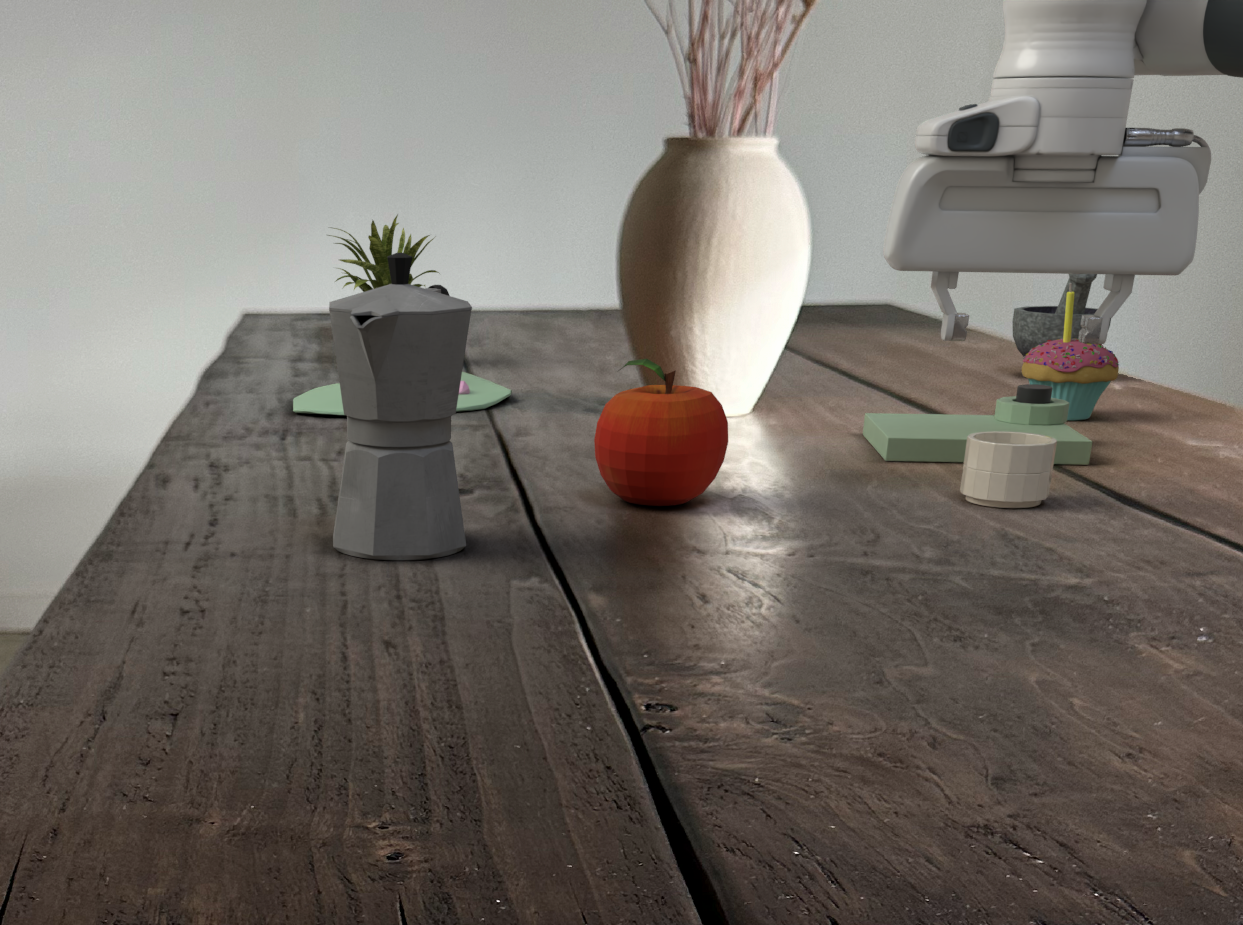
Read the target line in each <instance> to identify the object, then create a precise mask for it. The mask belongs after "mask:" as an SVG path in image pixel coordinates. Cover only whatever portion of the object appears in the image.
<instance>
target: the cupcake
mask: <svg viewBox="0 0 1243 925" xmlns="http://www.w3.org/2000/svg"><path fill="white" fill-rule="evenodd" d="M1073 305H1074V292H1072V283H1070V287H1069V292H1067V297H1066V310H1065V323H1064V335H1063V339H1057V340H1054V341H1051V340H1048V341H1047V342H1046V343H1043V344H1040V345H1038V346H1036V347H1034V348H1032V349H1031V350H1030V352H1029V353H1027V354H1026V356H1025V357H1023V358H1022V363H1023V364H1022V367H1021V375H1022V374H1023V375H1022V376H1023V377H1025V379H1027V380H1028V384H1036V385H1046V386H1051V387H1052V395H1051V398H1056V399H1061V400H1065V401H1067V402H1069V403H1070V404H1069V410H1068V417H1067V421H1084V420H1089V419H1090V418H1091V416H1092V413H1093V411H1094V409H1095V407H1096V405H1097V403H1098V401H1099V399H1100V398H1101V395H1103V393H1104V392H1105V390H1106V389H1107V388H1108V386H1109V385H1110V384H1111V382H1114V381H1116V380H1117V379H1118V375H1119V371H1120V367H1119V366H1120V364H1119V359H1118V357H1117V356H1116V354H1115V353H1114V352H1113V350H1110V349H1108V348H1107V347H1106V346H1104V344H1102V345H1100V344H1087V343H1082V342H1079V339H1076V338H1073V339H1071V331H1072V318H1073Z"/></svg>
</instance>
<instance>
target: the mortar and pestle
mask: <svg viewBox="0 0 1243 925" xmlns="http://www.w3.org/2000/svg"><path fill="white" fill-rule="evenodd" d="M1097 277H1098V274H1068V280H1067V282H1066V285H1065V287H1064V290H1063V291H1062V292H1063V293H1062V294H1061V298H1060V300H1059V302H1058V305H1034V306H1033V305H1031V306H1029V305H1028V306H1026V305H1025V306H1021V307H1016V308H1013V316H1012V321H1011V322H1012V338H1013V341H1014V344H1015V346H1016V349H1017V351H1018V352H1019V353H1020V354H1021V356H1022V357H1023V358H1024V357H1025V356H1026V354H1027V353H1029V352H1030V350H1031V349H1032V348H1034V347H1036V346H1038V345H1040V344H1043V343H1046V342H1047V341H1048V340H1051V341H1054V340H1057V339H1063V335H1064V323H1065V310H1066V297H1067V292H1069V287H1070V283H1072V292H1074V305H1073V318H1072V331H1071V339H1073V338H1076V339H1079V331H1080V330H1081V329H1082V327H1081V325H1080V324H1081V318H1082V315H1094V314H1095V312H1096V311H1097V310H1098V308H1095V307H1087V304H1088V300H1089V296H1090V292H1091V288H1092V283H1093V282H1094V281H1095V280H1096V279H1097ZM1111 322H1112V318H1110V322H1109V328H1108V331H1109V330H1110V327H1111ZM1100 345H1103V344H1100ZM1021 375H1022V376H1023V374H1022V373H1021Z"/></svg>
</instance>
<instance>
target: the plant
mask: <svg viewBox="0 0 1243 925" xmlns="http://www.w3.org/2000/svg"><path fill="white" fill-rule="evenodd" d="M512 394H513V390H512V389H510V388H508V387H506V386H503V385H501V384H499V383H497V382H494V381H491V380H489V379H486V378H483V377H480V376H479V375H475V374H471V373H469V372H465V371H462V375H461V382H460V388H459V395H458V402H457V408H456V413H458V412H467V411H468V412H469V411H470V412H471V411H476V410H485V409H487V408H489V407H491V406H494V405H497V404H498V403H500V402H502V401H503V400H505V399H506V398H508V397H510V396H511V395H512ZM292 411H293V412H294V413H297V414H312V415H331V416H345V415H344V411H343V404H342V397H341V390H340V383H339V382H338V383H332V384H327V385H323V386H318V387H315V388H313V389H309V390H307V391H305V392H303V393H301V394H299V395H297V396H296V397H294V398H293V399H292Z"/></svg>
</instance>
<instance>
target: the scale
mask: <svg viewBox="0 0 1243 925" xmlns="http://www.w3.org/2000/svg"><path fill="white" fill-rule="evenodd" d="M1015 401H1016V395H1012V396H1002V397H1000V398H997V399H996V401H995V410H994V414H949V413H948V414H947V413H888V412H887V413H885V412H884V413H883V412H882V413H881V412H879V413H878V412H865V413H864V417H863V418H864V419H863V428H862V435H863V437H864V438H865V439H866V440H867V441H868V443H869V444H870V445H871V446H872V447H873V448H874V449H875V451H876V452H877V453H878V454H879V455H880V456H881V457H882V458H883V460H884V461H885V462H912V463H913V462H914V463H915V462H916V463H918V462H919V463H920V462H921V463H963V464H964V457H965V450H966V443H967V436H969V435H970V434H973V433H978V432H991V431H1007V432H1023V433H1033V434H1040V435H1045V436H1049V437H1052V438H1054V439H1056V440H1057V445H1056V452H1055V458H1054V464H1053V465H1073V466H1074V465H1075V466H1078V465H1079V466H1088V465H1090V461H1091V454H1092V448H1093V440H1091V439H1090V438H1088V437H1087V436H1085V435H1083V434H1082V433H1080V432H1079V431H1077V430H1075V429H1074V428H1072V427H1071V426H1069V425H1068V424H1066V423H1067V421H1068V420H1067V417H1068V410H1069V404H1070V403H1069V402H1067V401H1065V400H1061V399H1056V398H1051V401H1050V403H1049V404H1030V403H1020V402H1015Z"/></svg>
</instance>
